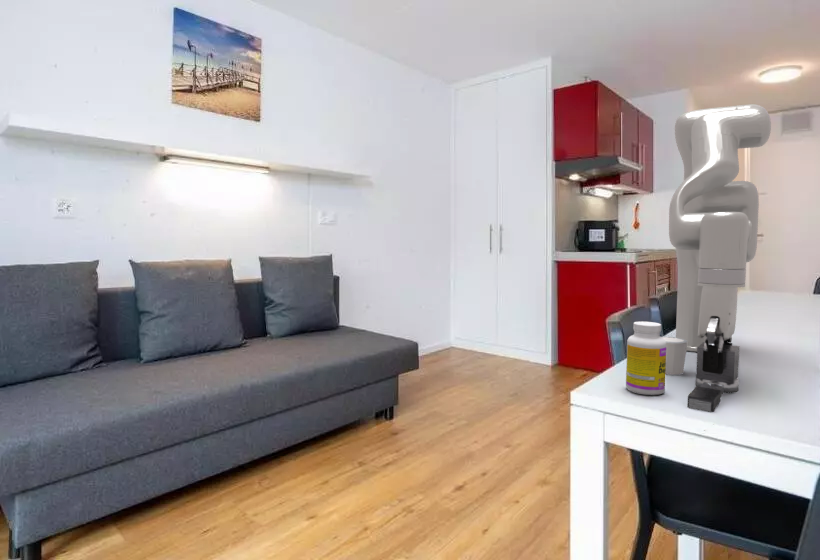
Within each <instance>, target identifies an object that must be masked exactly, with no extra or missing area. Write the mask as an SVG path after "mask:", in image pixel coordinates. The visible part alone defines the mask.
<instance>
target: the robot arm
mask: <svg viewBox="0 0 820 560" xmlns="http://www.w3.org/2000/svg"><path fill="white" fill-rule="evenodd" d="M675 120H676V121H675V125H674V137H675V139H674V140H675V143H676V146H677V150H678V152H679V155H680V157H681V160H682V164H683V181H682V182H681V183H680V184H679V186H678V187H677V189H676V190H675V191H674V193H673V195H672V198H671V200H670V203H669V207H668V208H669V209H668V211H669V212H668V236H669V241H670V244H671V245H672V247H674V248H675V253H676V254H675V255H676V263H677V293H676V294H677V296H676V320H675V321H676V322H675V323H676V324H675V325H676V326H675V338H681V339H685V340H687V341H688V344H687V351H686V352H688V351H689V352H696V353H697V347H698V346H700V345H701V344H702V343H703V342H705V344H704V350H703V368H702V370H703V371H704V372H710V373H717V374H722V373H723V365H724V352H722V349H723V344H724V345H733V343H732V340H733V339H732V338H733V337H732V336H733V335H734V334H735V330H736V325H737V324H736V322H737V313H738V311H737V310H738V289H739V288H745V287H746V273H747V269H746V268H747V263H749V262H751V261H752V260H753V259H755V256H756V252H757V247H758V245H757V244H758V227H759V206H760V204H759V203H760V202H759V200H760V199H759V192H758V188H757V186H756V185H755V184H754V183H753V182H750V181H747V180H735V179H736V178H737V176H738V175H739V171H740V163H739V151H738V150H739V149H752V148H759V147H762V146H764V145H765V144H766V143H767V142H768V141H769V138H770V136H771V131H772V121H771V117H770V114H769V112H768V110H767V109H766V108H765V107H764V106H762V105H759V104H755V103H754V104H753V103H752V104H751V103H750V104H740V105H732V106H730V105H729V106H721V107H710V108H709V107H708V108H701V109H695V110H691V111H687V112H685V113H682V114H680V115H679V116H678V117H677V119H675ZM718 344H719V345H718Z"/></svg>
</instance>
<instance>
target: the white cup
mask: <svg viewBox="0 0 820 560" xmlns="http://www.w3.org/2000/svg"><path fill="white" fill-rule="evenodd" d="M661 337H662V338H663V339H664V340H665V341H666V372H665V373H666V374H665V375H669V376H670V375H672V376H676V375H677V376H678V375H682V374H684V370H685V363H686V355H687V352H688V351H687V344H688V341H687V340H685V339H681V338H676V336H675V337H673V336H661Z"/></svg>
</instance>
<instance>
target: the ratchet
mask: <svg viewBox="0 0 820 560" xmlns="http://www.w3.org/2000/svg"><path fill="white" fill-rule="evenodd" d="M694 385H695V386H694V388H693V390H692V391H690V392H689V393H688V395H687V404H686V405H687V408H688V409H691V410H695V411H696V410H697V411H701V412H702V411H703V412H707V413H714V412H715V410H716V409H717V407H718V406H719V404H720V402H721V399H722V396H723V395H724V394H736V393H738V392H739V390H740V389H739V387H740V380H739V378H737V379H736V381H735V383H734V384H729V383H723V382H717V381H710V380H704V379H697V378H696V377H695V384H694Z"/></svg>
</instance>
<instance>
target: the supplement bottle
mask: <svg viewBox="0 0 820 560" xmlns="http://www.w3.org/2000/svg"><path fill="white" fill-rule="evenodd" d="M632 329H633V331H634V333H633V334H632V335H630V336H629V337H628V338H627V340H626V341H627V342H626V373H625V376H626V377H625V387H626V388H627V390H628V391H630V392H631V393H635V394H638V395H645V396H646V395H647V396H658V395H662V394H663V393H664V392H665V390H666V389H665V388H666V375H667V374H666V373H665V372H666V341H665V340H664V339H663V338H662V337H663V336H660V333H661V331H662V324H661V323H659V322H653V321H634V322H633V327H632Z"/></svg>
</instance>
